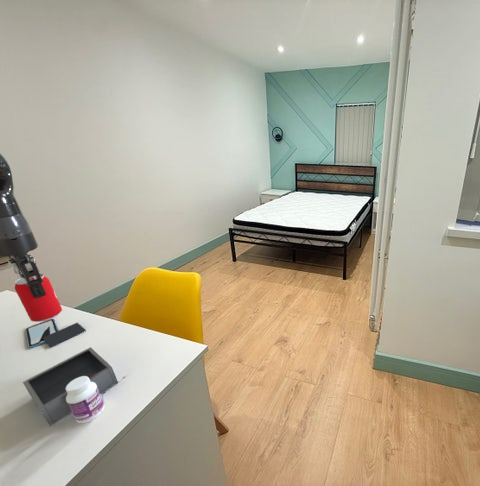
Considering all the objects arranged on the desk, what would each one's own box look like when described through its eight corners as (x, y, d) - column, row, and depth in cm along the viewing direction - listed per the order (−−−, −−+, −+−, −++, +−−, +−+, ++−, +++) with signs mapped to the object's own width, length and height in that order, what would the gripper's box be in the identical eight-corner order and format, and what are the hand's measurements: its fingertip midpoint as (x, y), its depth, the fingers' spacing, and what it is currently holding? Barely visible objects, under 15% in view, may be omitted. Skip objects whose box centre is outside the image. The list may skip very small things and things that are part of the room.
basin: (49, 426, 59) (39, 409, 57) (32, 398, 66) (22, 382, 64) (118, 382, 70) (111, 366, 68) (97, 361, 77) (90, 347, 75)
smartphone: (53, 317, 96) (60, 335, 87) (55, 320, 96) (61, 337, 87) (24, 328, 91) (28, 347, 82) (25, 330, 91) (29, 350, 82)
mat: (50, 347, 82) (49, 345, 82) (43, 339, 86) (42, 337, 85) (85, 331, 89) (85, 329, 89) (78, 324, 93) (77, 322, 93)
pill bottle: (100, 419, 61) (86, 389, 57) (72, 427, 59) (55, 397, 56) (109, 399, 66) (96, 370, 62) (83, 406, 64) (68, 377, 60)
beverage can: (60, 307, 76) (44, 270, 72) (65, 314, 73) (49, 277, 68) (29, 318, 71) (10, 279, 67) (33, 327, 68) (13, 287, 64)
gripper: (-22, 232, 64) (9, 291, 70) (-9, 244, 57) (23, 308, 63) (23, 224, 70) (47, 279, 76) (39, 234, 62) (64, 294, 69)
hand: (36, 292), depth 69 cm, fingers closed on beverage can, 6 cm apart
